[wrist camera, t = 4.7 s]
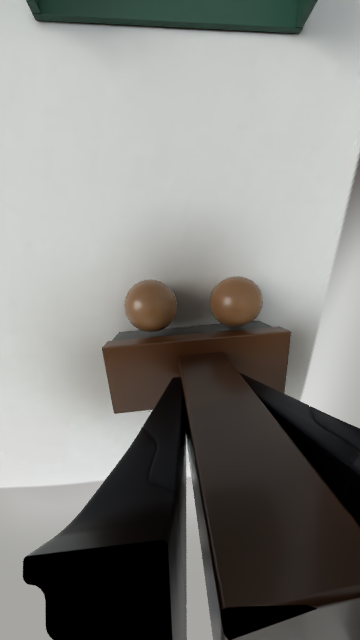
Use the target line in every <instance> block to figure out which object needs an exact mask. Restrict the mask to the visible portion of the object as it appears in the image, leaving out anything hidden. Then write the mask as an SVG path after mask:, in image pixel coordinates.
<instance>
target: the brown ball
mask: <svg viewBox="0 0 360 640" xmlns="http://www.w3.org/2000/svg"><path fill="white" fill-rule="evenodd" d="M262 303H263V300H262V294H261V291H260V289H259V288H258V286H257V285H256V284H255V283H254V282H253V281H251V280H249V279H247V278H244V277H237V276H236V277H230V278H227V279H225V280H223V281H221V282H220V283H219V284H218V285H217V286H216V287H215V288H214V290H213V291H212V294H211V297H210V308H211V311H212V313H213V315H214V317H215V318H216V319H217V320H218V321H219V322H221V323H222V324H224V325H227V326H231V327H239V326H244V325H246V324H248V323H250V322H252V321H253V320H254V319H255V318H256V317H257V316H258V314H259V313H260V310H261V308H262Z"/></svg>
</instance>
